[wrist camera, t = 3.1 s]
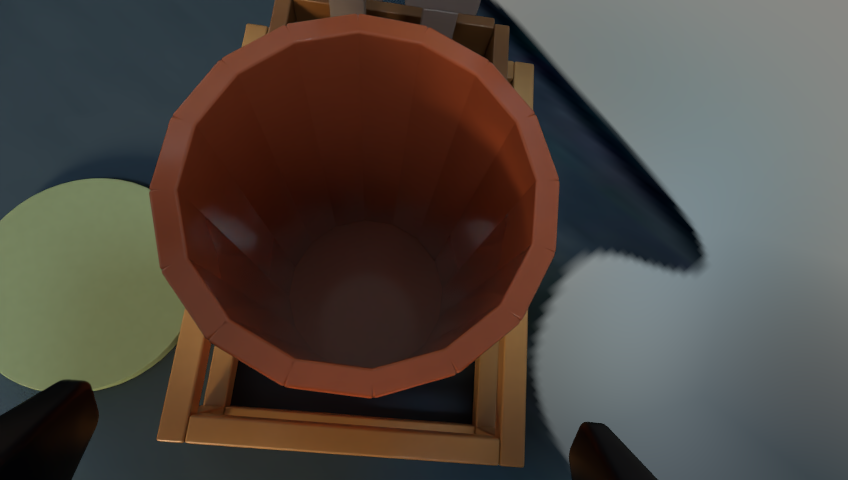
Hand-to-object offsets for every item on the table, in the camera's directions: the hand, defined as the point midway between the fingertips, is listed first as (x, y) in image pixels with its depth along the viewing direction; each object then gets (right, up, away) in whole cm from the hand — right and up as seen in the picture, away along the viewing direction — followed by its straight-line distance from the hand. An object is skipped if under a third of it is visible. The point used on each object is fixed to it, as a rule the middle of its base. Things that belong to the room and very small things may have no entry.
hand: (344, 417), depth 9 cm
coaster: (-12, +2, +10) cm, 16 cm away
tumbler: (-1, +1, +11) cm, 11 cm away
